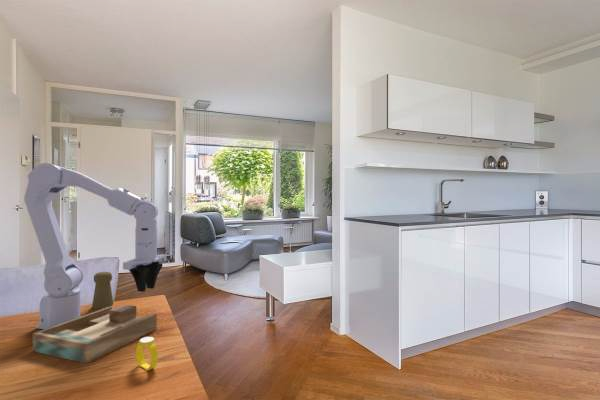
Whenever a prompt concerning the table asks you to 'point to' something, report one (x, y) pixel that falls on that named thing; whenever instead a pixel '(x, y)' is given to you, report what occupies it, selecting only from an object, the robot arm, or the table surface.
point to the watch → (153, 351)
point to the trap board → (90, 336)
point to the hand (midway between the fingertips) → (146, 289)
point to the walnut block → (122, 313)
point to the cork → (102, 290)
